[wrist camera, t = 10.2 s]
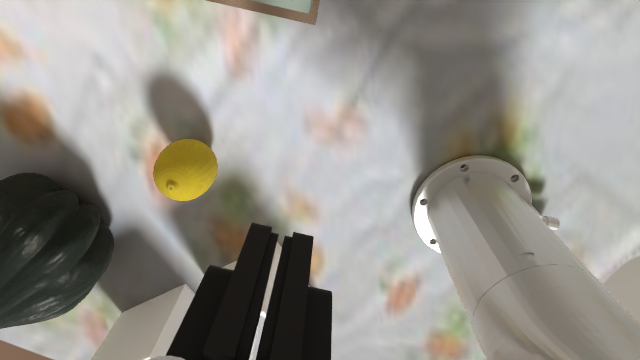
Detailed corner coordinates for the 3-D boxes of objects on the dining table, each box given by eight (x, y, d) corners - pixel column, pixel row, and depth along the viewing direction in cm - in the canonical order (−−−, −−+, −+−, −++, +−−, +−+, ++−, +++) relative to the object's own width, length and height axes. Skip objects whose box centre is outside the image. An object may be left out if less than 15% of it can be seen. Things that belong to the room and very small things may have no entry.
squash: (59, 154, 34) (-151, 271, 26) (155, 269, 41) (10, 389, 33) (39, 151, 44) (-116, 235, 37) (117, 243, 51) (1, 330, 43)
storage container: (277, 240, 45) (263, 311, 35) (321, 301, 49) (319, 378, 39) (122, 311, 51) (73, 387, 41) (173, 359, 55) (140, 439, 45)
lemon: (184, 118, 38) (150, 148, 31) (234, 144, 39) (212, 178, 32) (166, 161, 40) (130, 198, 33) (214, 184, 41) (189, 225, 34)
